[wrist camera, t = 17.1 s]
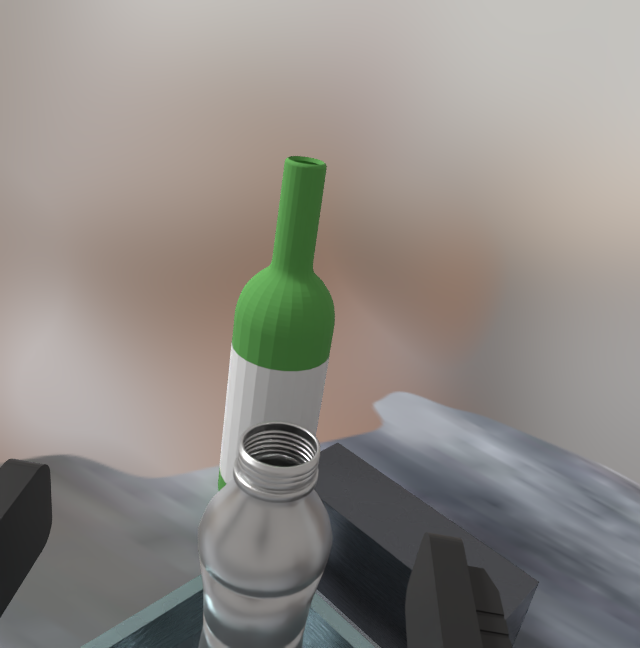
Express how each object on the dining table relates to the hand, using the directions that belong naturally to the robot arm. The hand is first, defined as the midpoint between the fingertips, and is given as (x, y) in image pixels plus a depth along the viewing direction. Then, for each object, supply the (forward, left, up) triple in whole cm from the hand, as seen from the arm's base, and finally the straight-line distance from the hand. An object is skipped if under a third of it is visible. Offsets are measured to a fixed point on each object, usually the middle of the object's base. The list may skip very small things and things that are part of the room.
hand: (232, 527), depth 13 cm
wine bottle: (+24, +22, -28) cm, 43 cm away
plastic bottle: (+10, +8, -27) cm, 30 cm away
